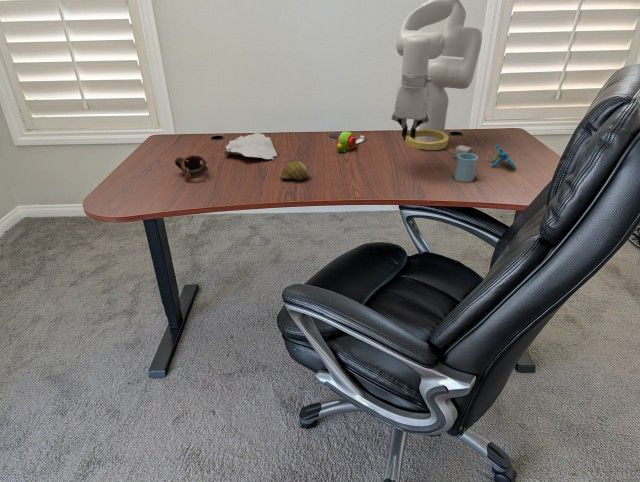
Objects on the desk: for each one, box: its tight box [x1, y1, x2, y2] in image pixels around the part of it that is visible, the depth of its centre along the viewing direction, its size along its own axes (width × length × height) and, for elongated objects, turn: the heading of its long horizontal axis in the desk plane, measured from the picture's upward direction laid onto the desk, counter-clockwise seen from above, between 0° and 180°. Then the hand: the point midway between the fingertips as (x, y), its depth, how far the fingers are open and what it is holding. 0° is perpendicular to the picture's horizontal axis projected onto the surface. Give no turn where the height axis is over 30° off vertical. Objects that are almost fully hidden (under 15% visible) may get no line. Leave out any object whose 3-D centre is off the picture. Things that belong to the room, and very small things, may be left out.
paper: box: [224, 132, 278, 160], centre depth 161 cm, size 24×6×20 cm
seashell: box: [280, 160, 309, 181], centre depth 140 cm, size 10×7×8 cm
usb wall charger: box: [449, 144, 473, 159], centre depth 154 cm, size 4×7×4 cm, turn 47°
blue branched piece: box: [491, 144, 516, 169], centre depth 146 cm, size 11×6×10 cm
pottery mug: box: [174, 154, 209, 182], centre depth 143 cm, size 12×10×8 cm
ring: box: [404, 128, 450, 151], centre depth 137 cm, size 13×13×2 cm
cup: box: [453, 153, 479, 183], centre depth 138 cm, size 6×6×8 cm
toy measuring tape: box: [336, 130, 367, 153], centre depth 165 cm, size 6×20×7 cm, turn 145°
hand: (408, 138), depth 139 cm, fingers closed on ring, 1 cm apart
